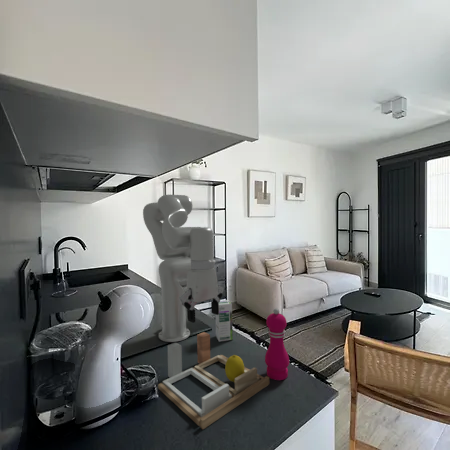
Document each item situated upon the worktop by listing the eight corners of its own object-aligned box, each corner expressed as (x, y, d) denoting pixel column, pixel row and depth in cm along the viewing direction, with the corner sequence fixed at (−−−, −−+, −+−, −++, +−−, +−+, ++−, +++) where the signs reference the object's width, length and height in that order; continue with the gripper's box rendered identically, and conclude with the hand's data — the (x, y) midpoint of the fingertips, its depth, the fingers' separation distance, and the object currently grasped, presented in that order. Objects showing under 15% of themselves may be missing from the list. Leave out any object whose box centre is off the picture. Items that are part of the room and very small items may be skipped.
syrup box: (218, 342, 103) (217, 304, 103) (215, 335, 108) (214, 300, 108) (232, 340, 104) (232, 303, 104) (229, 334, 110) (228, 299, 110)
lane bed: (158, 388, 75) (158, 381, 75) (221, 358, 91) (221, 352, 91) (202, 429, 60) (202, 420, 60) (269, 384, 76) (269, 377, 76)
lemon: (228, 390, 73) (228, 361, 73) (223, 378, 79) (222, 352, 79) (247, 386, 75) (246, 358, 75) (241, 375, 80) (240, 349, 80)
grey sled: (157, 380, 78) (156, 349, 78) (186, 367, 85) (185, 338, 84) (201, 419, 62) (200, 380, 62) (232, 399, 69) (231, 364, 69)
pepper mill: (265, 367, 85) (264, 304, 84) (288, 368, 83) (287, 305, 83) (265, 380, 77) (263, 312, 77) (290, 382, 76) (289, 313, 76)
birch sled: (188, 366, 85) (188, 337, 85) (212, 355, 92) (212, 328, 92) (234, 397, 70) (234, 362, 70) (259, 381, 76) (259, 349, 76)
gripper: (215, 261, 96) (216, 309, 95) (173, 267, 84) (174, 321, 84) (229, 263, 90) (230, 313, 90) (186, 269, 78) (188, 328, 78)
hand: (203, 317), depth 87 cm, fingers open, 9 cm apart
